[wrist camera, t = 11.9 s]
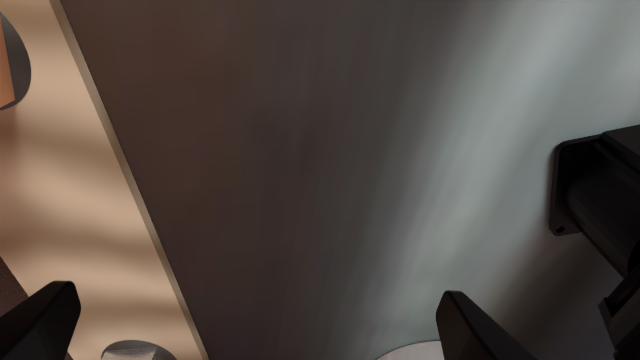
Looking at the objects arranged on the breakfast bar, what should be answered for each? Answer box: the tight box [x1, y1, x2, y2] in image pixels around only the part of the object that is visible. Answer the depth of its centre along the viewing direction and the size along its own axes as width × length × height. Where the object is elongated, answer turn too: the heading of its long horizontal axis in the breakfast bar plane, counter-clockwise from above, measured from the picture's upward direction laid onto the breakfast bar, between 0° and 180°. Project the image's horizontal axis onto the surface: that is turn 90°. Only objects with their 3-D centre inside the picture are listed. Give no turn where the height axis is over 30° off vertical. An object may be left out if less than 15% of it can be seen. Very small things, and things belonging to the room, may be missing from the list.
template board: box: [0, 0, 209, 360], centre depth 25 cm, size 33×10×1 cm, turn 6°
